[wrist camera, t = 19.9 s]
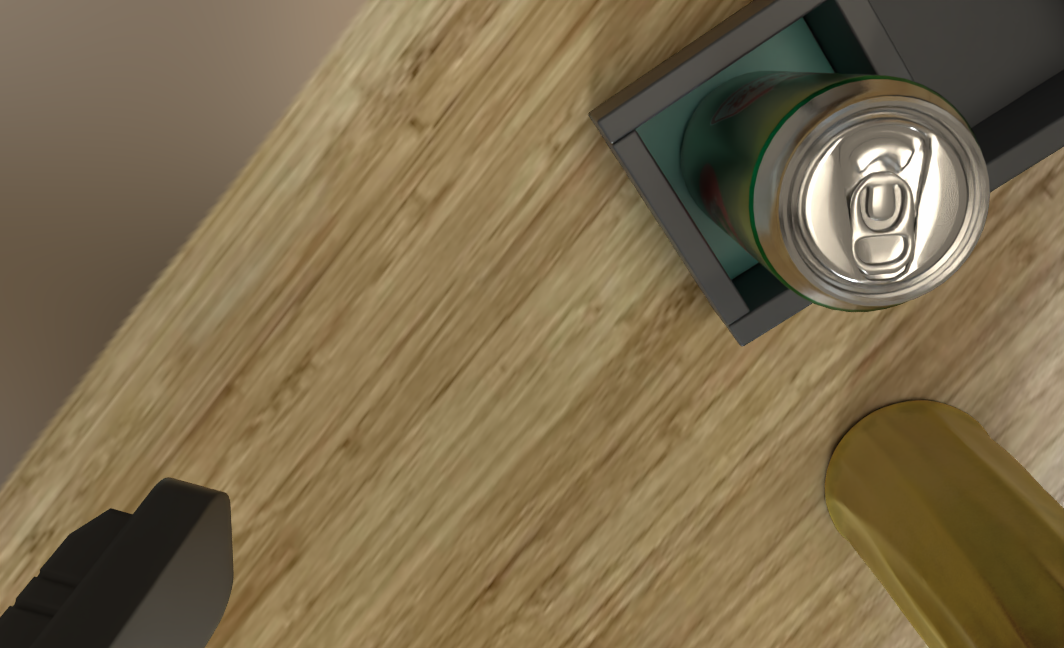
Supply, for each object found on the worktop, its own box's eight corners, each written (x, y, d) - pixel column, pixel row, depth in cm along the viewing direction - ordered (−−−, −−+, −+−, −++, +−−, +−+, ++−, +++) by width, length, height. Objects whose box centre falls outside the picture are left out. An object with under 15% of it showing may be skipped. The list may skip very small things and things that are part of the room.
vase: (941, 583, 37) (1185, 896, 23) (791, 519, 36) (951, 802, 22) (1029, 440, 36) (1346, 681, 22) (875, 370, 35) (1101, 573, 21)
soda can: (837, 63, 32) (1015, 65, 20) (838, 225, 33) (1005, 315, 21) (674, 77, 32) (756, 86, 20) (681, 237, 33) (762, 334, 21)
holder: (587, 113, 33) (596, 121, 28) (1004, -170, 31) (1084, -210, 26) (714, 311, 34) (742, 348, 30) (1119, 55, 32) (1213, 54, 28)
